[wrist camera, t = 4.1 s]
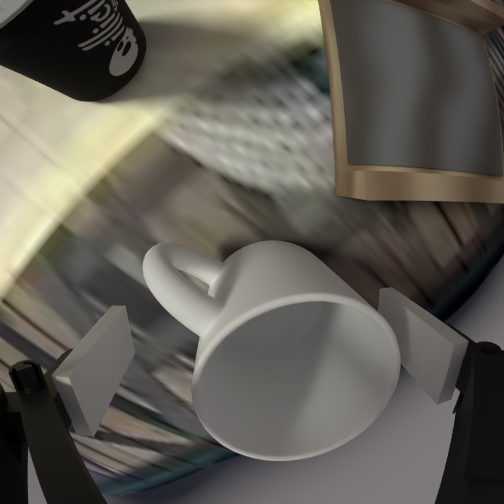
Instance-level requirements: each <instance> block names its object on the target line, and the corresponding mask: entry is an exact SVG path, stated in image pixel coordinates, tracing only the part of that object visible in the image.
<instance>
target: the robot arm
mask: <svg viewBox="0 0 504 504" xmlns="http://www.w3.org/2000/svg"><path fill="white" fill-rule="evenodd" d="M378 313H379V314H381V315H382V316H383V317H384V318H385V320H386V321H387V322H388V323H389V325H390V326H391V328H392V330H393V332H394V333H395V335H396V338H397V341H398V344H399V349H400V357H401V364H402V365H403V366H404V367H405V368H406V370H407V371H408V372H409V373H410V374H411V375H412V376H413V378H414V379H415V380H416V381H417V382H418V383H419V384H420V385H421V387H422V388H424V390H425V391H426V392H427V393H428V395H429V396H430V397H431V398H432V399H433V400H434V401H435V403H436V404H440V403H443V402H445V401H448V400H451V398H452V396H453V392H454V390H455V387H456V388H457V389H458V390H459V391H460V394H459V397H458V400H457V402H456V405H455V408H454V411H453V413H455V412H456V415H455V421H454V427H453V433H452V438H451V443H450V448H449V452H448V457H447V461H446V465H445V469H444V473H443V477H442V481H441V484H440V488H439V491H438V494H437V498H436V501H435V504H504V350H501V348H500V347H499V346H498V345H496V344H494V343H492V342H483V341H482V342H478V343H475V342H474V341H473V340H471V339H470V338H468V337H467V336H466V335H464V334H463V333H461V332H460V331H459V330H457V329H456V328H454V327H453V326H452V325H450V324H448V323H446V322H443V321H440V320H439V319H437V318H436V317H434V316H433V315H432V314H430V313H429V312H427V311H426V310H424V309H423V308H422V307H420V306H419V305H417V304H416V303H414V302H413V301H411V300H410V299H409V298H407V297H406V296H404V295H403V294H401V293H400V292H398V291H397V290H395V289H394V288H392V287H390V288H382V289H380V292H379V304H378ZM134 355H135V350H134V345H133V341H132V336H131V332H130V327H129V322H128V317H127V311H126V306H112V307H111V308H110V309H109V310H108V311H107V312H106V313H105V314H104V315H103V317H102V318H101V319H100V320H99V321H98V322H97V323H96V324H95V325H94V327H93V328H92V329H91V330H90V331H89V332H88V333H87V334H86V336H85V337H84V338H83V339H82V340H81V341H80V342H79V344H78V345H77V346H76V347H75V348H74V349H70V350H68V351H66V352H65V353H63V354H62V355H61V356H60V357H59V358H58V359H57V361H56V362H55V363H54V364H53V366H51V367H50V369H49V370H48V371H47V372H46V373H45V374H44V375H43V372H42V369H41V367H40V364H39V363H38V362H37V361H35V360H23V361H20V362H18V363H16V364H14V365H13V366H12V367H11V368H10V369H9V375H10V377H11V380H12V382H13V385H14V387H15V389H16V391H17V392H5V391H4V389H3V387H2V385H1V384H0V504H28V481H27V480H28V472H27V471H28V470H27V468H28V447H29V451H30V454H31V457H32V461H33V464H34V467H35V471H36V474H37V477H38V480H39V483H40V486H41V488H42V491H43V493H44V496H45V499H46V502H47V504H107V502H106V500H105V499H104V497H103V496H102V494H101V492H100V491H99V489H98V487H97V486H96V484H95V482H94V480H93V479H92V477H91V475H90V473H89V471H88V469H87V468H86V466H85V464H84V462H83V460H82V458H81V456H80V454H79V452H78V450H77V448H76V446H75V444H74V442H73V439H72V437H71V435H70V433H69V431H68V428H69V426H70V424H71V423H72V425H73V427H74V429H75V431H76V433H77V434H81V435H86V436H93V437H94V435H95V433H96V431H97V429H98V426H99V424H100V422H101V420H102V418H103V416H104V414H105V412H106V410H107V408H108V406H109V404H110V402H111V400H112V398H113V396H114V394H115V392H116V390H117V388H118V386H119V384H120V382H121V380H122V378H123V376H124V374H125V372H126V370H127V368H128V366H129V364H130V362H131V360H132V358H133V356H134Z"/></svg>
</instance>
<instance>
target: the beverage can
mask: <svg viewBox="0 0 504 504" xmlns="http://www.w3.org/2000/svg"><path fill="white" fill-rule="evenodd" d="M145 51H146V39H145V35H144V33H143V31H142V29H141V27H140V25H139V24H138V22H137V20H136V19H135V17H134V15H133V13H132V12H131V10H130V8H129V7H128V5H127V3H126V2H125V0H0V65H1V66H4V67H6V68H8V69H10V70H13V71H15V72H17V73H20V74H22V75H24V76H26V77H28V78H31V79H33V80H35V81H37V82H39V83H41V84H44V85H46V86H48V87H50V88H52V89H54V90H56V91H58V92H60V93H63V94H65V95H67V96H69V97H71V98H73V99H75V100H78V101H85V102H89V101H97V100H101V99H104V98H106V97H109V96H111V95H112V94H114V93H116V92H117V91H119V90H120V89H122V88H123V87H124V86H125V85H126V84H127V83H128V82H129V81H130V80H131V79H132V78H133V77H134V75H135V74H136V73H137V71H138V70H139V68H140V66H141V64H142V62H143V59H144V56H145Z"/></svg>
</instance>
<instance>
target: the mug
mask: <svg viewBox="0 0 504 504" xmlns="http://www.w3.org/2000/svg"><path fill="white" fill-rule="evenodd" d="M176 269H180V270H183V271H185V272H188V273H190V274H192V275H194V276H195V277H197V278H199V279H201V280H202V281H204V282H205V283H207V284H208V285H210V286H209V289H208V293H205V292H203V291H202V290H200V289H199V288H197V287H196V286H195V285H193V284H192V283H190V282H189V281H188V280H187V279H186V278H184V277H183V276H182V275H181V274H180V273H179V272H178V271H177V270H176ZM143 272H144V278H145V281H146V283H147V285H148V287H149V289H150V290H151V292H152V293H153V295H154V296H155V297H156V299H157V300H158V301H159V303H160V304H161V305H162V306H163V307H164V308H165V309H166V310H167V311H168V312H169V313H170V314H171V315H172V316H174V317H175V318H176V319H177V320H178V321H180V322H181V323H182V324H183V325H185V326H186V327H187V328H189V329H190V330H191V331H193V332H194V333H196V334H197V335H199V336H200V338H199V344H198V349H197V355H196V362H195V368H194V373H193V378H192V389H191V390H192V401H193V405H194V408H195V411H196V414H197V416H198V418H199V420H200V422H201V423H202V425H203V426H204V428H205V429H206V430H207V432H208V433H209V434H210V435H211V436H212V437H213V438H214V439H216V440H217V441H218V442H219V443H221V444H222V445H224V446H225V447H227V448H229V449H231V450H233V451H235V452H237V453H239V454H242V455H245V456H248V457H252V458H257V459H263V460H272V461H288V460H298V459H304V458H309V457H313V456H317V455H320V454H323V453H326V452H328V451H331V450H333V449H335V448H337V447H339V446H341V445H343V444H345V443H347V442H348V441H350V440H352V439H353V438H355V437H356V436H358V435H359V434H360V433H362V432H363V431H364V430H365V429H366V428H368V427H369V426H370V425H371V424H372V423H373V422H374V421H375V420H376V419H377V417H378V416H379V415H380V414H381V412H382V411H383V410H384V409H385V407H386V406H387V404H388V402H389V401H390V399H391V397H392V395H393V393H394V390H395V388H396V385H397V382H398V379H399V373H400V365H401V357H400V349H399V344H398V341H397V338H396V335H395V333H394V332H393V330H392V328H391V326H390V325H389V323H388V322H387V321H386V320H385V318H384V317H383V316H382V315H381V314H379V313H378V312H377V311H376V310H375V309H374V308H373V307H372V306H371V305H370V304H369V303H368V302H366V301H365V300H364V299H363V298H362V297H361V296H360V295H359V294H358V293H357V292H355V291H354V290H353V289H352V288H351V287H350V286H349V285H348V284H347V283H345V282H344V281H343V280H342V279H341V278H340V277H339V276H338V275H336V274H335V273H334V272H333V271H332V270H331V269H330V268H329V267H327V266H326V265H325V264H324V263H323V262H322V261H321V260H319V259H318V258H317V257H316V256H315V255H314V254H312V253H311V252H309V251H308V250H306V249H304V248H302V247H300V246H298V245H296V244H292V243H289V242H284V241H275V240H269V241H260V242H256V243H252V244H250V245H247V246H245V247H243V248H241V249H239V250H237V251H236V252H234V253H233V254H232V255H230V256H229V257H228V258H227V259H226V260H225V261H224V262H223V263H221V262H219V261H217V260H215V259H214V258H212V257H210V256H208V255H206V254H205V253H203V252H201V251H198V250H196V249H194V248H191V247H189V246H186V245H183V244H179V243H166V242H164V243H159V244H157V245H155V246H153V247H151V249H150V250H149V251H148V252H147V253H146V255H145V258H144V262H143Z"/></svg>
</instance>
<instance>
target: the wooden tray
mask: <svg viewBox="0 0 504 504" xmlns="http://www.w3.org/2000/svg"><path fill="white" fill-rule="evenodd" d="M318 3H319V9H320V15H321V21H322V28H323V35H324V43H325V51H326V59H327V68H328V77H329V87H330V98H331V110H332V124H333V139H334V159H335V187H336V195H337V196H343V197H350V198H356V199H362V200H408V201H457V202H483V203H503V204H504V161H503V144H502V132H501V123H500V115H499V107H498V101H497V94H496V89H495V83H494V78H493V73H492V69H491V64H490V60H489V56H488V52H487V48H486V44H485V41H484V37H483V34H485V33H487V32H490V31H492V30H494V29H497V28H499V27H502V26H504V8H503V7H501V6H499V5H498V4H496V3H494V2H493V1H491V0H318Z"/></svg>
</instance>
